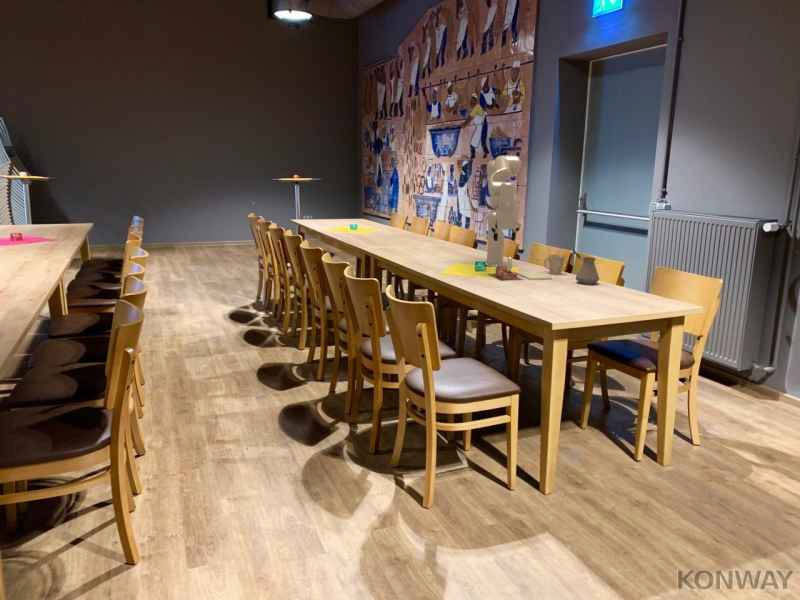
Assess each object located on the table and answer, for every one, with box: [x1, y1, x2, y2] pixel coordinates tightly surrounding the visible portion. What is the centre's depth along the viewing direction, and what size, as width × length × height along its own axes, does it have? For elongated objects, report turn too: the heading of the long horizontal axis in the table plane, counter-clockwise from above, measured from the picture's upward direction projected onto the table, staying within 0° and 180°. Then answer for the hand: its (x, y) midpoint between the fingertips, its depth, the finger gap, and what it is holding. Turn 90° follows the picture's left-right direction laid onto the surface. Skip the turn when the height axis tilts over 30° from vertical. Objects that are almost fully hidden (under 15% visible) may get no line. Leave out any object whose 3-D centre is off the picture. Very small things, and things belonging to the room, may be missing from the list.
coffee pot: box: [571, 249, 600, 286], centre depth 318 cm, size 21×12×15 cm, turn 17°
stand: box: [487, 256, 525, 282], centre depth 321 cm, size 18×13×12 cm
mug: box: [543, 254, 565, 276], centre depth 340 cm, size 8×13×10 cm, turn 39°
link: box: [494, 264, 518, 281], centre depth 321 cm, size 14×6×5 cm, turn 15°
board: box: [512, 270, 553, 281], centre depth 325 cm, size 20×12×2 cm, turn 15°
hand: (504, 240), depth 321 cm, fingers open, 9 cm apart
